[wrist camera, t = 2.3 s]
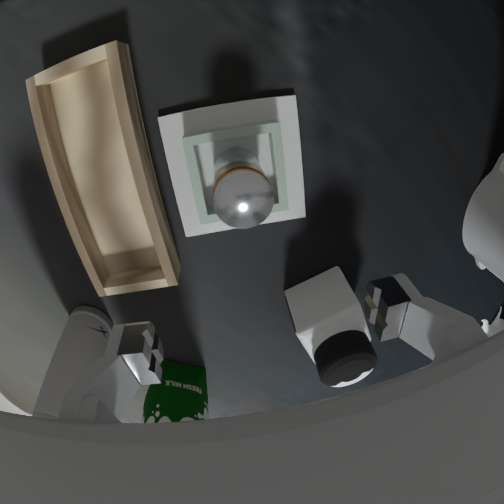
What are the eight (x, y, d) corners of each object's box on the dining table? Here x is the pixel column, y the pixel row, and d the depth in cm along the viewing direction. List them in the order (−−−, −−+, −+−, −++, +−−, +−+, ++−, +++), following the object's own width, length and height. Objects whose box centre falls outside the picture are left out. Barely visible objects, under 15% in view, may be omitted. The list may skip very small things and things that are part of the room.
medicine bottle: (282, 290, 35) (306, 372, 25) (337, 263, 34) (379, 339, 24) (303, 325, 39) (327, 401, 29) (352, 302, 38) (388, 374, 28)
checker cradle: (293, 95, 24) (301, 96, 22) (304, 214, 31) (311, 226, 28) (158, 116, 24) (152, 120, 22) (186, 234, 30) (184, 247, 28)
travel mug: (111, 306, 34) (70, 456, 17) (116, 341, 38) (88, 476, 21) (67, 299, 33) (12, 437, 16) (75, 334, 36) (37, 461, 19)
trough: (128, 44, 20) (116, 40, 17) (181, 265, 32) (177, 285, 29) (44, 78, 20) (25, 80, 17) (107, 277, 32) (99, 296, 29)
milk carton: (213, 366, 42) (220, 497, 25) (195, 395, 46) (198, 508, 29) (154, 352, 39) (141, 488, 22) (144, 384, 43) (133, 499, 26)
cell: (256, 143, 26) (271, 167, 19) (261, 185, 28) (277, 224, 21) (210, 150, 26) (207, 177, 19) (218, 192, 28) (218, 233, 21)
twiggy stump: (444, 366, 54) (459, 393, 47) (491, 298, 44) (514, 325, 37) (489, 355, 57) (503, 376, 50) (529, 297, 48) (547, 318, 41)
